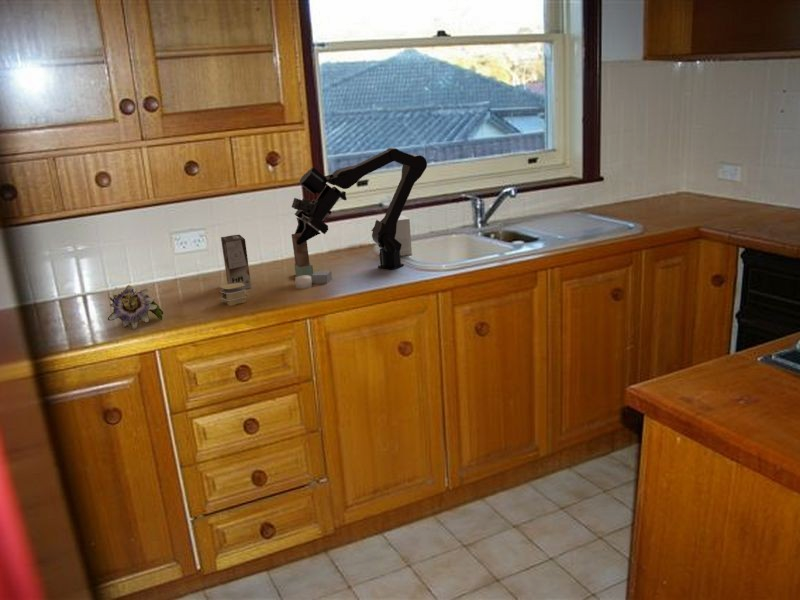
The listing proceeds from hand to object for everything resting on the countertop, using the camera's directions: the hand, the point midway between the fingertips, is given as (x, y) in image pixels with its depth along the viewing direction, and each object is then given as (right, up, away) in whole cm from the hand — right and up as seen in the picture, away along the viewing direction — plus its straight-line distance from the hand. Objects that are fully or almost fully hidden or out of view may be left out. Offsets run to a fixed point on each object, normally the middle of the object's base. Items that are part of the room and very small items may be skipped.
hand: (295, 242), depth 236 cm
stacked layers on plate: (-16, -19, -13) cm, 29 cm away
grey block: (+8, -12, +3) cm, 15 cm away
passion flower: (-41, -25, -27) cm, 55 cm away
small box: (+33, -2, +32) cm, 46 cm away
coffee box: (-19, -14, +3) cm, 24 cm away
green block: (+1, -10, +11) cm, 15 cm away
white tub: (+3, -14, -1) cm, 14 cm away
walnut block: (+2, -7, +3) cm, 8 cm away
